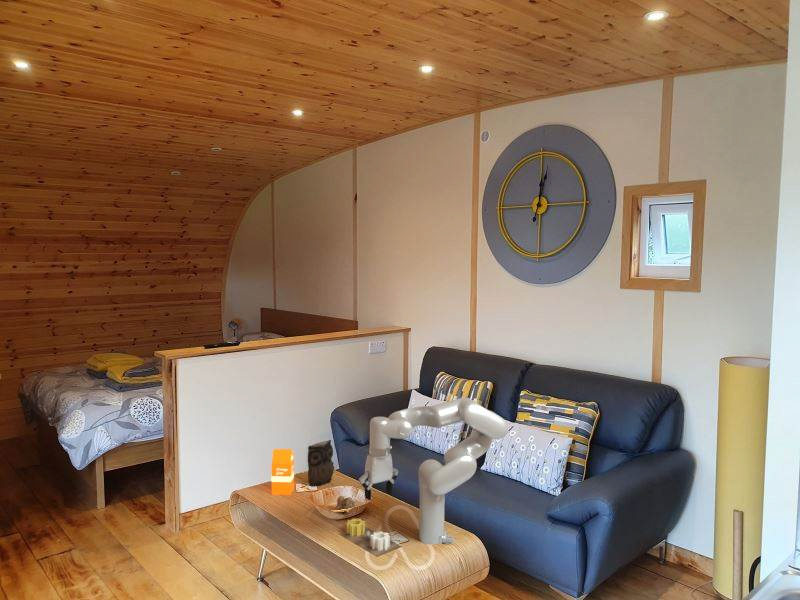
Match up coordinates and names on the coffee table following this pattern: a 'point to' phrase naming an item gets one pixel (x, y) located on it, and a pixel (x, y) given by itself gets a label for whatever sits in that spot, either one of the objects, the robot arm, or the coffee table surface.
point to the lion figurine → (345, 502)
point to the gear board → (368, 542)
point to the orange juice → (282, 472)
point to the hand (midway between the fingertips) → (378, 496)
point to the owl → (320, 463)
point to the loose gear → (380, 541)
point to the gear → (355, 527)
